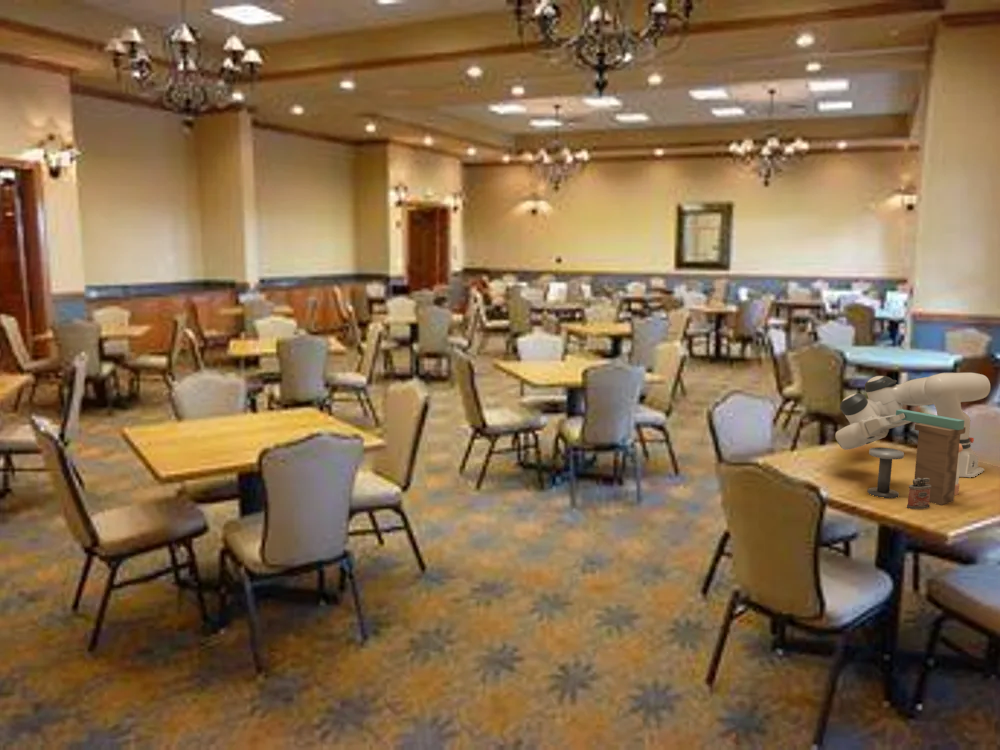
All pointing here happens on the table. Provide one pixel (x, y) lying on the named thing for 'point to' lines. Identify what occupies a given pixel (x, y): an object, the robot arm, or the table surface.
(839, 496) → the table surface
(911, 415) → the rod
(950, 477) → the tall stand
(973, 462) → the robot arm
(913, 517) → the table surface
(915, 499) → the lighter
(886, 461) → the cake stand
